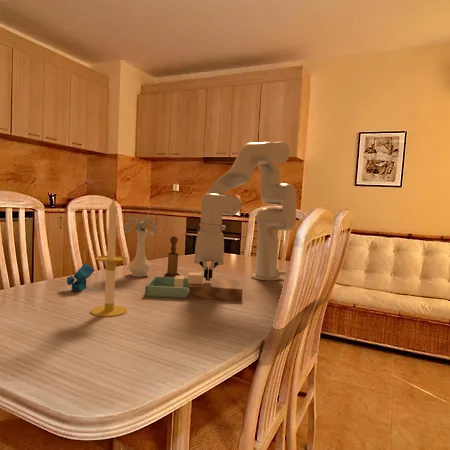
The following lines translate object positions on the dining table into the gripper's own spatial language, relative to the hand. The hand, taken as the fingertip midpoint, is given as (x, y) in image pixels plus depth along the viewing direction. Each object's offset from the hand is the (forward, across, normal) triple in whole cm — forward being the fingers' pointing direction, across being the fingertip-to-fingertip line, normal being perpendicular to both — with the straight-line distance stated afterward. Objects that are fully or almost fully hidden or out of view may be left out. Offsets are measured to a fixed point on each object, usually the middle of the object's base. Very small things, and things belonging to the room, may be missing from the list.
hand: (207, 280), depth 130 cm
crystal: (+5, +44, +2) cm, 44 cm away
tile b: (+2, +8, 0) cm, 9 cm away
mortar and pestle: (+5, +15, -18) cm, 24 cm away
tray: (+5, +14, 0) cm, 14 cm away
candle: (+5, +27, +26) cm, 38 cm away
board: (+5, -3, 0) cm, 6 cm away
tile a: (+1, +4, 0) cm, 5 cm away
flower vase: (+5, +30, -26) cm, 40 cm away
